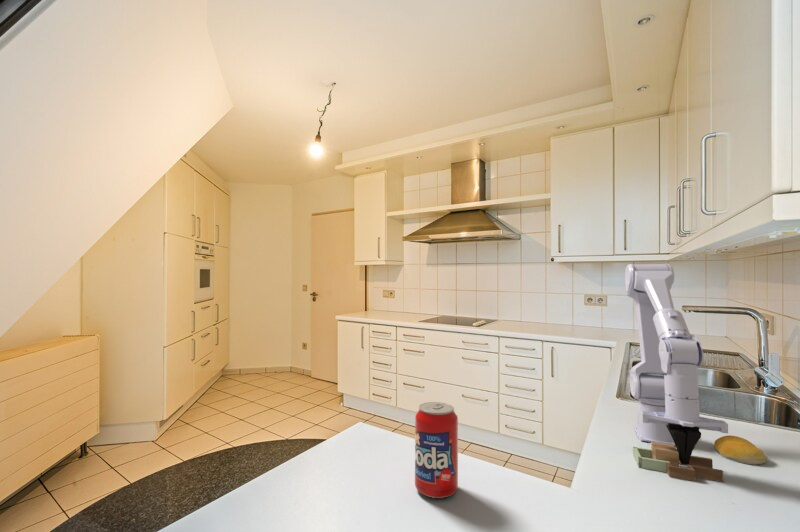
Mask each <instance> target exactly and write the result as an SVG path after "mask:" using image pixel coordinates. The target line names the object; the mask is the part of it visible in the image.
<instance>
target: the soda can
mask: <svg viewBox="0 0 800 532" xmlns="http://www.w3.org/2000/svg"><path fill="white" fill-rule="evenodd" d="M414 417H415V421H414V423H415V424H414V425H415V426H414V427H415V429H414V433H415V434H414V435H415V436H414V440H415V441H414V445H415V446H414V486H415V488H416V490H417V492H419V493H420V494H422V495H424V496H425V495H426V497H427V496H428V498H430V497H432V498H431V499H435V498H441V499H445V498H444V497H446V498H448V497H450V496H451V497H452V495H454V494H455V493H456V492H457V490H458V486H459V479H458V478H459V476H458V475H459V451H458V450H459V437H458V436H459V427H458V426H459V423H458V422H459V419H458V415H457V413H456V411H455V407H454V406H453V405H452V404H449V403H445V402H440V401H429V402H424V403H422V404H419V407H418V411H416V414H415V416H414Z"/></svg>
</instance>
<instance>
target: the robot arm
mask: <svg viewBox="0 0 800 532" xmlns="http://www.w3.org/2000/svg"><path fill="white" fill-rule="evenodd" d="M674 271H675V270H674V268H673V266H672V265H671V264H670V263H659V264H658V263H651V264H650V263H647V264H645V263H644V264H643V263H642V264H637V263H636V264H634V263H629V264H627V266H626V267H625V271H624V283H625V292H626V293H627V296H628V297H629V298H631V299H633V300H634V304H635V310H636V320H637V321H636V322H637V330H638V331H637V332H638V340H639V342H638V343H639V349H640V351H639V352H640V360H641V361H639V362H638V363H636V364H635V365H633V366H632V367H631V368H630V370H629V375H630V376H629V389H630V393H631V396H632V397H633V398H634V399H635V400H637V426H636V425H635V426H633V429H634V431H635V432H636V435H637V438H638V439H639V440H640V441H643V442H648V443H651V442H657V443H664V444H670V445H674V447H675V448H676V449H677V451H678V452H679V461H680V462H681V463H682V464H686V465H685V466H687V464H688V465H689V461H690V457H691V455H693V451H694V449H695V447H696V445H697V443H698V442H699V441H700V439H702V432H701V430H705V431H714V432H720V433H722V434H726V435H728V434H729V423H727V422H726V421H725V420H722V419H714V418H708V417H703V416H700V415H701V414H700V400H699V399H700V396H699V393H700V392H699V374H698V373H699V372H698V371H699V370H698V368H699V367H700V366H702V364H703V360H704V352H703V347H702V345H701V342H700V340H699V339H698V338H697V337H696V336H695V334H691V333H690V331H689V327H688V325H687V323H686V320H685V318H684V315H683V313H682V312H681V311H679V310H677V309H675V307H674V303H673V302H674V301H673V297H672V294H671V289H672V287H673V284H674V281H675V272H674ZM652 374H653V375H652Z"/></svg>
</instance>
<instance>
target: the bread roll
mask: <svg viewBox="0 0 800 532" xmlns="http://www.w3.org/2000/svg"><path fill="white" fill-rule="evenodd" d="M713 444H714V448H715V450H716V451H717V452H718V453H719V454H720V455H721V456H722V457H723V458H725V459H728V460H731V461H734V462H737V463H742V464H746V465H752V466H756V465H762V464H765V463H766V460H767V456H766V453H764V451H763V450H761V449H760V448H758V447H757V446H756V445H755V444H754V443H752V442H751V441H749V440H748V439H745V438H744V437H743V438H742V437H740V436H737V435H732V434H731V435H724V436H720V437H719V438H717V439H715V441H714V443H713Z"/></svg>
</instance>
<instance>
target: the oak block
mask: <svg viewBox="0 0 800 532" xmlns="http://www.w3.org/2000/svg"><path fill="white" fill-rule="evenodd" d="M650 445H651V447H650V449H651V450H652V459H657V460H663V461H669V462H670V463H671V465H672V466H677V467H680V464H679V452H678V451H677V449H676V446H674V445H670V444H664V443H657V442H650Z"/></svg>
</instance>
